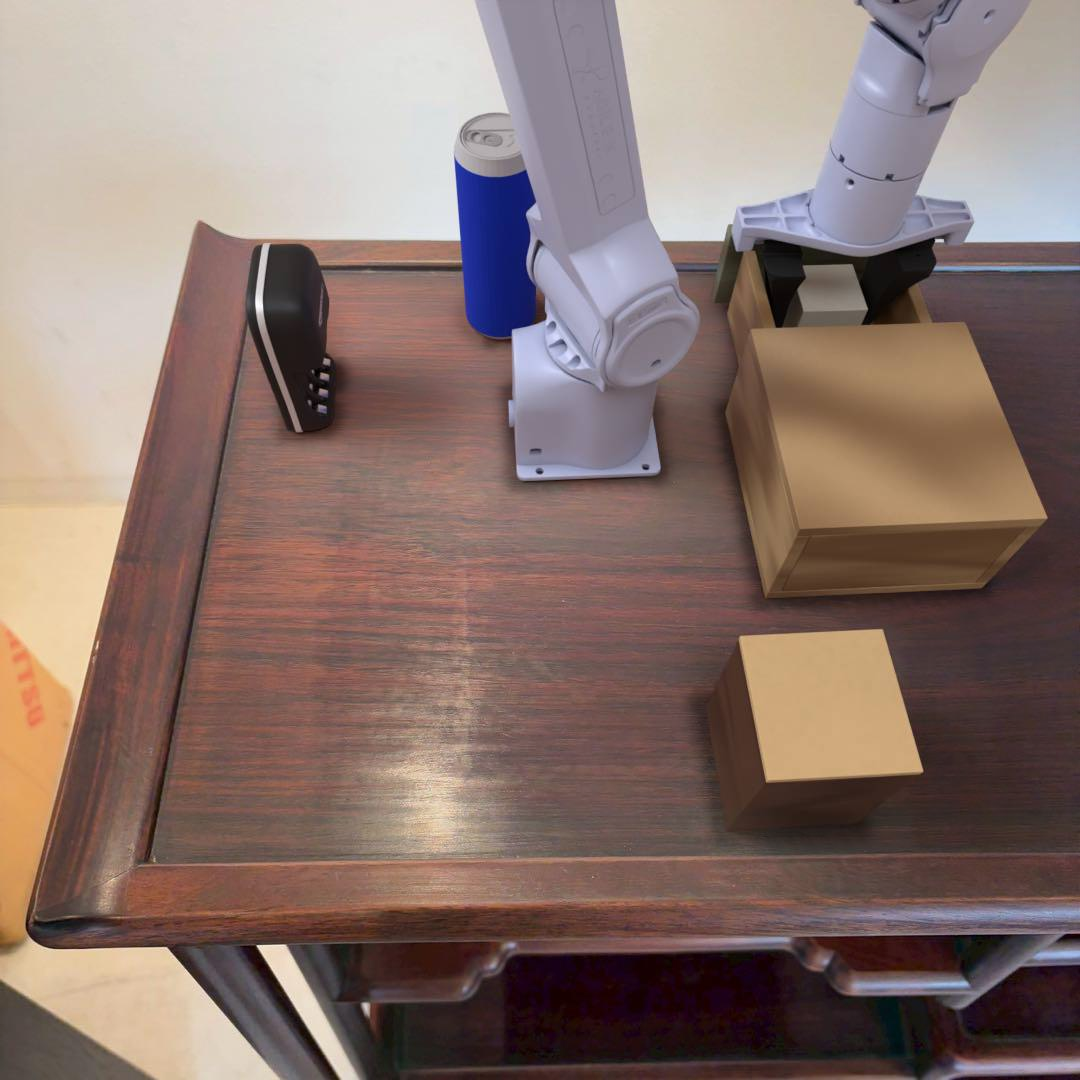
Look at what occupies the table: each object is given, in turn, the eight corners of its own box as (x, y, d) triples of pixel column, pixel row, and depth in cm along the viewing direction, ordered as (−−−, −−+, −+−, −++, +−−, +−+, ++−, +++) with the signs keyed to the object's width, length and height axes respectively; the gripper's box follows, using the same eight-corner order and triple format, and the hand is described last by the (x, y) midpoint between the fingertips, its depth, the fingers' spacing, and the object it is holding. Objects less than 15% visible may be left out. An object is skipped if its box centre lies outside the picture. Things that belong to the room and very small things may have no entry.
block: (789, 349, 62) (803, 311, 59) (777, 304, 64) (790, 265, 61) (851, 347, 62) (868, 309, 59) (837, 302, 65) (852, 263, 62)
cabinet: (724, 412, 62) (750, 328, 55) (916, 405, 62) (965, 321, 55) (764, 598, 54) (800, 528, 47) (982, 588, 55) (1048, 518, 48)
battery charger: (343, 435, 60) (308, 310, 50) (287, 437, 60) (240, 313, 50) (348, 358, 64) (316, 227, 54) (294, 360, 64) (252, 230, 54)
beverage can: (539, 296, 67) (542, 112, 54) (532, 346, 65) (534, 165, 52) (471, 290, 67) (459, 106, 55) (461, 340, 65) (446, 159, 52)
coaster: (765, 783, 39) (768, 780, 39) (738, 639, 43) (739, 635, 43) (920, 774, 40) (924, 771, 39) (880, 632, 43) (883, 628, 43)
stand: (726, 831, 47) (765, 783, 39) (705, 705, 51) (738, 639, 43) (855, 823, 47) (920, 774, 40) (826, 699, 51) (880, 632, 43)
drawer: (708, 281, 67) (724, 212, 62) (869, 276, 68) (899, 207, 62) (743, 435, 60) (765, 371, 54) (923, 428, 60) (963, 365, 55)
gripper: (981, 105, 53) (900, 278, 65) (743, 110, 53) (704, 284, 65) (1020, 181, 50) (927, 350, 61) (764, 187, 49) (719, 356, 61)
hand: (814, 321), depth 63 cm, fingers open, 6 cm apart
